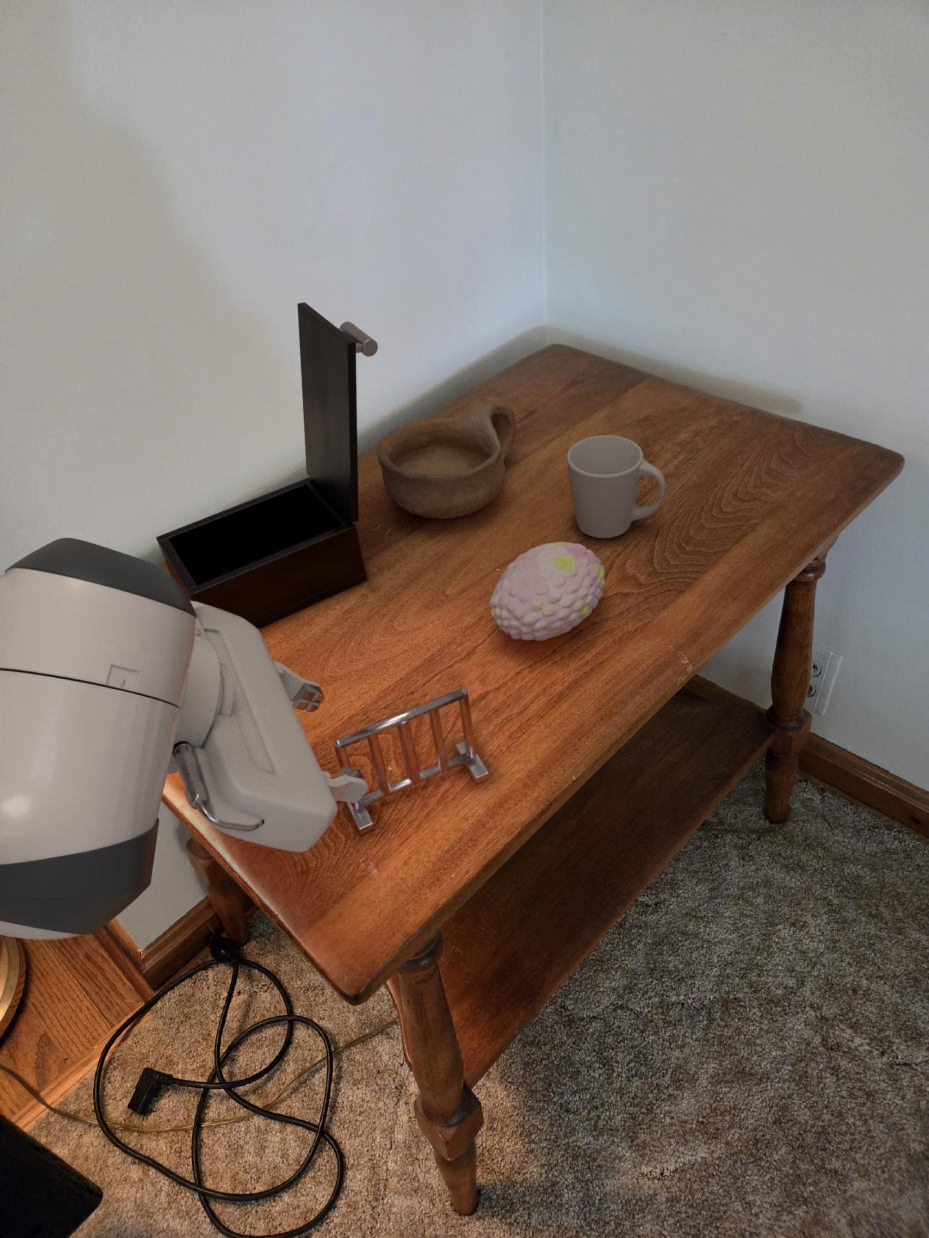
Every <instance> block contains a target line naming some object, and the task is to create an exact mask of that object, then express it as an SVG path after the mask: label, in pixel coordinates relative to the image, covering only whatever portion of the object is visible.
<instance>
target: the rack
mask: <svg viewBox="0 0 929 1238" xmlns="http://www.w3.org/2000/svg"><path fill="white" fill-rule="evenodd" d="M469 696H470V695H469V690H468V689H467V688H465V687H461V688H458V689H456V690H453V691H451V692H449V693H446V694H443V695H441V696H438V697H436V698H433V699H431V700H429V701H427V702H423V703H421V704H419V705H417V706H414V707H412V708H409V709H407V710H404V711H402V712H399V713H397V714H394V715H391V716H390V717H387V718H384V719H382V720H380V721H377V722H375V723H372V724H369V725H368V726H366V727H362V728H360V729H358V730H355V731H353V732H350V733H348V734H345V735H343V736H340V737H338V738H336V739H335V740H333V744H332V745H333V748H334V752H335V755H336V759H337V762H338V766H339V769H340V770H341V769H342V767H343V766H344V767H349V768H352V765H351V760H350V758H349V754H348V751H347V747H349V746H352V745H355V744H357V743H359V742H362V741H364V740H366V739H367V744H368V748H369V750H370V751H369V752H370V757H371V759H372V763H373V768H374V771H375V775H376V780H377V783H378V788H379V789H375V790H373V791H372V792H369V793H367V794H364V795H363V797H362V798H361V799H360V800H359V801H358V802H355V803H350V802H345V805H346V806H347V809H348V811H349V813H350V815H351V818H352V819H353V822H354V824H355V827H356V828H357V831H358V833H359V835H361V836H363V835H364V834H366V833H369V832H371V831H373V830H375V824H374V821H373V820H372V817H371V816H370V813H369V811H368V809H367V806H370V805H372V804H374V803H377V802H379V801H382V800H383V799H386V798H388V797H391V796H393V795H395V794H397V793H399V792H400V793H401V792H402V791H405V790H406V789H409V788H412V787H414V786H416V785H418V784H421V783H423V782H425V781H428V780H430V779H432V778H435V777H437V776H439V775H441V774H444V773H446V772H448V771H451V770H453V769H455V768H458V767H460V766H463V765H464V766H465V768H466V769H467V771H468V773H469V774H470V776H471V777H472V779H473V780H474V783H475V784H476V785H478V784H480V783H482V782H485V781H487V780H489V779H490V778H491V777H490V772H489V770H488V768H487V766H486V765H485V764H484V762H483V761H482V759H481V757H480V756H479V754H478V752H477V751H476V749H477V748H476V742H475V735H474V728H473V720H472V712H471V703H470V697H469ZM457 702H458V707H459V712H460V713H459V715H460V720H461V727H462V734H463V741H461V742H458V743H456V744H454V746H455V751H456V753H457V754H458V755H456V756H453V757H451V758H448V756H447V750H446V743H445V738H444V733H443V731H444V730H443V726H442V725H443V724H442V721H441V713H440V709H442V708H444V707H447V706H449V705H452V704H454V703H457ZM427 714H428V717H429V723H430V728H431V734H432V740H433V745H434V751H435V755H436V756H435V757H436V762H437V764H435V765H433V766H430V767H427V768H426V769H423V770H421V771H420V766H419V765H420V764H419V760H418V756H417V751H416V745H415V740H414V736H413V731H412V726H411V721H413V720H415V719H418V718H420V717H422V716H425V715H427ZM393 728H397V733H398V739H399V742H400V747H401V751H402V756H403V761H404V766H405V770H406V774H407V777H405V778H402V779H400V780H398V781H397V780H396V781H395V782H393V783H390V782H389V777H388V773H387V768H386V764H385V761H384V757H383V752H382V748H381V743H380V740H379V736H378V735H379V734H382V733H384V732H386V731H389V730H392V729H393Z"/></svg>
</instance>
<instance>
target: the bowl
mask: <svg viewBox="0 0 929 1238" xmlns="http://www.w3.org/2000/svg"><path fill="white" fill-rule="evenodd" d="M514 412H515V411H514V410H513V408H512V407H511V406H510V405H509V404H508V403H507V402H506V401H504V400H501V399H499V398H496V397H492V396H479V397H477V398H475V399H474V400H473V401H471V402H470V403H469V404H468V405H467V406H466V407H465V408H464V410H463V411H462V412H461V413H460V414H457V415H456V416H452V417H449V418H436V419H428V420H423V421H421V420H420V421H416V422H409V423H405V424H404V425H402V426H398V427H397V428H395V429H393V430H392V431H389V432H388V433H386V434H385V435H383V436H382V437H381V438H380V440H379V441H378V444H377V447H376V458H377V461H378V464H379V466H380V468H381V476H382V481H383V486H384V489H385V492H386V493H387V494H388V497H390V499H392V501H394V503H395V504H396V505H397V506H399V508H402V509H404V510H405V511H407V512H408V513H410V514H412V515H416V516H419V517H422V518H426V519H427V518H428V519H432V520H433V519H437V520H438V519H439V520H440V519H441V520H443V519H446V520H447V519H454V518H460V517H463V516H466V515H469V514H473V513H475V512H476V511H478V510H480V509H482V508H483V507H485V506H486V505H488V504H489V503H491V502H492V501H493V500H494V499H496V497H497V496H498V495H499V494H500V493H501V491H502V489H503V488H502V487H503V486H504V485H505V480H506V474H507V473H506V470H507V469H506V465H505V460H506V457H507V456H508V455H509V453H510V450H511V449H512V448H513V444H514V442H515V438H516V432H517V422H516V421H517V420H516V415H515V413H514Z"/></svg>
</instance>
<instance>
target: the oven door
mask: <svg viewBox="0 0 929 1238" xmlns="http://www.w3.org/2000/svg"><path fill="white" fill-rule="evenodd" d="M296 306H297V320H298V321H297V322H298V341H299V342H298V343H299V358H300V360H299V361H300V376H301V379H300V380H301V396H302V413H303V415H302V416H303V432H304V433H303V434H304V447H305V448H304V451H305V468H306V475H307V476H308V477H310V478H311V479H312V480H313V481H314V482H315V483H316V484H317V485H318V486H319V487H320V489H321V490H322V491H323V492H324V493H325V494H326V495H327V496H328V497H329V498H330V500H331V501H332V502H333V503H334V504H335V505H336V506H337V507H338V508H339V509H340V511H341V512H342V513H343V514H344V515H345V516H346V517H347V518H348V519H349V520H350V522H351V523H356V522H359V520H360V518H359V517H360V516H359V463H358V462H359V457H358V453H359V451H358V396H357V395H358V394H357V393H358V391H357V354H360V353H361V354H362V355H364V356H365V357H369V358H370V357H373V356H374V355H376V353H377V352H378V350H379V344H378V342H377V340H375V339H374V338H372V337H371V336H370V335H369V334H368V333H366V332H364V331H363V329H360V328H359V327H358V326H356V324H354V323H353V322H351V321H344V322H343V323H341V324H340V325H339V328H338V327H337V326H336V325H334V324H333V323H332V322H331V321H330V320H328V319H327V318H325V317H324V316H323V315H322V314H321V313H319V312H318V311H317V310H315V309H314V308H313V307H312V306H310V305H309V304H308V303H306V302H297V305H296Z"/></svg>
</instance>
